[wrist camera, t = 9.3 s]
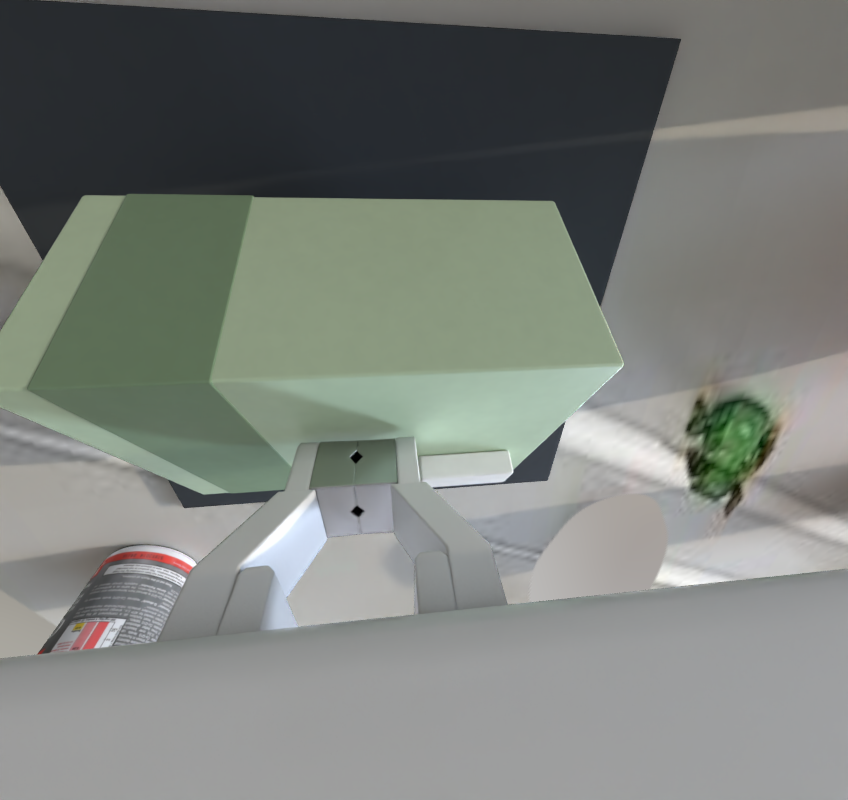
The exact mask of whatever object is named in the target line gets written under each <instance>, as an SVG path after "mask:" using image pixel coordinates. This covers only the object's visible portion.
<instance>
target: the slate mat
mask: <svg viewBox="0 0 848 800" xmlns="http://www.w3.org/2000/svg"><path fill="white" fill-rule="evenodd" d="M680 41H681V39H675V38H658V37H641V36H625V35H608V34H591V33H575V32H558V31H541V30H525V29H508V28H491V27H474V26H458V25H441V24H424V23H408V22H391V21H374V20H358V19H341V18H324V17H308V16H291V15H274V14H257V13H241V12H224V11H207V10H191V9H174V8H157V7H141V6H124V5H107V4H91V3H74V2H57V1H40V0H0V186H1V188H2V190H3V191H4V193H5V195H6V197H7V198H8V200H9V202H10V204H11V205H12V207H13V209H14V211H15V212H16V214H17V216H18V218H19V219H20V221H21V223H22V225H23V226H24V228H25V230H26V232H27V233H28V235H29V237H30V239H31V240H32V242H33V244H34V246H35V247H36V249H37V251H38V253H39V254H40V256H41V258H42V260H44V258H45V257H46V255H47V253H48V252H49V250H50V249H51V247H52V245H53V244H54V242H55V240H56V239H57V237H58V236H59V234H60V232H61V231H62V229H63V227H64V226H65V224H66V222H67V221H68V219H69V218H70V216H71V214H72V213H73V211H74V209H75V208H76V206H77V204H78V203H79V201H80V200H81V198H82V197H83V196H85V195H110V196H126V195H127V194H183V195H252V196H254V197H273V198H355V199H436V200H518V201H553V202H555V204H556V207H557V209H558V211H559V214H560V216H561V218H562V220H563V223H564V225H565V227H566V230H567V232H568V234H569V237H570V239H571V241H572V244H573V246H574V248H575V251H576V253H577V255H578V258H579V260H580V262H581V264H582V267H583V269H584V271H585V274H586V276H587V278H588V281H589V283H590V285H591V288H592V290H593V292H594V295H595V297H596V299H597V301H598V304H599V306H601V302H602V299H603V296H604V292H605V289H606V286H607V282H608V279H609V276H610V272H611V269H612V266H613V263H614V259H615V256H616V253H617V249H618V246H619V243H620V239H621V236H622V233H623V230H624V226H625V223H626V220H627V216H628V213H629V210H630V206H631V203H632V200H633V197H634V193H635V190H636V187H637V183H638V180H639V177H640V173H641V170H642V167H643V163H644V160H645V157H646V154H647V150H648V147H649V144H650V140H651V137H652V134H653V130H654V127H655V124H656V121H657V117H658V114H659V111H660V107H661V104H662V101H663V97H664V94H665V91H666V87H667V84H668V81H669V78H670V74H671V71H672V68H673V64H674V61H675V58H676V54H677V51H678V48H679V45H680ZM564 424H565V422H564V423H563V424H561V425H560V426H559V427H558V428H557V429H556V430H555V431H554V432H553V433H552V434H551V435H550V436H549V437H548V438H547V439H545V440H544V441H543V442H542V443H541V444H540V445H539V446H538V447H537V448H536V449H535V450H534V451H533V452H532V453H531V454H529V455H528V456H527V457H526V458H525V459H524V460H523V461H522V462H521V463H520V464H519V465H518V466H517V467H516V468H515V469H514V470H513V474H511V475H510V476H509V477H508V478H507V479H506V480H505V481H504V482H497V483H484V484H471V485H457V486H444V487H432V488H433V489H443V488H456V487H469V486H482V485H496V484H509V483H522V482H535V481H547V480H548V477H549V474H550V471H551V467H552V464H553V461H554V458H555V454H556V451H557V448H558V444H559V441H560V438H561V434H562V431H563V428H564ZM169 482H170V484H171V486H172V487H173V489H174V491H175V493H176V494H177V496H178V498H179V500H180V501H181V503H182V505H183V507H184V508H191V507H204V506H218V505H231V504H244V503H257V502H267V501H269V500H270V499H271V498H272V497H273V496H274V495H275V494H276V493H277V492H283V491H285V490H272V491H259V492H245V493H219V494H205V495H204V494H201V493H199V492H196V491H194V490H192V489H189V488H187V487H185V486H182V485H180V484H178V483H175V482H173V481H171V480H169Z"/></svg>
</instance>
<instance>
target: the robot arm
mask: <svg viewBox="0 0 848 800" xmlns="http://www.w3.org/2000/svg"><path fill="white" fill-rule="evenodd" d="M395 444H396V445H395ZM391 532H394V534H395V536H396V537H397V539H398V540H399V542H400V543H401V545H402V546H403V548H404V549H405V551H406V552H407V554H408V555H409V557H410V558H411V560H412V561H413V562H414V564H415V575H414V615H405V616H396V617H386V618H376V619H367V620H357V621H348V622H339V623H329V624H320V625H310V626H301V627H298V625H297V622H296V620H295V618H294V615H293V613H292V611H291V609H290V606H289V604H288V602H287V599H286V598H287V596H288V595H289V594H290V592H291V591H292V589H293V588H294V586H295V585H296V584H297V582H298V581H299V579H300V578H301V577H302V575H303V574H304V572H305V571H306V569H307V568H308V567H309V565H310V564H311V562H312V561H313V560H314V558H315V557H316V555H317V554H318V552H319V551H320V550H321V548H322V547H323V545H324V544H325V543H326V541H327V538H330V537H339V536H348V535H357V534H372V533H391ZM0 800H848V569H840V570H831V571H821V572H812V573H802V574H793V575H783V576H774V577H765V578H755V579H746V580H736V581H727V582H717V583H708V584H699V585H689V586H680V587H670V588H661V589H651V590H642V591H633V592H623V593H614V594H606V595H605V594H604V595H595V596H586V597H576V598H567V599H558V600H548V601H539V602H529V603H520V604H510V605H508V604H507V601H506V597H505V594H504V590H503V587H502V583H501V580H500V576H499V573H498V569H497V566H496V562H495V559H494V555H493V552H492V548H491V545H490V544H489V543H488V542H487V541H486V540H485V539H484V538H483V537H482V536H481V535H480V534H479V533H478V532H477V531H476V530H475V529H474V528H473V527H472V526H471V525H470V524H469V523H468V522H467V521H466V520H465V519H464V518H463V517H462V516H461V515H460V514H459V513H458V512H457V511H456V510H455V509H454V508H453V507H451V506H450V505H449V504H448V503H447V502H446V501H445V500H444V499H443V498H442V497H441V496H440V495H439V494H438V493H437V492H436V491H435V490H434V489H433V488H432V487H431V486H430V485H429V484H428V483H427V482H420V474H419V466H418V458H417V450H416V442H415V438H414V436H412V437H399V438H396V440H395V438H389V439H373V440H359V441H358V440H357V441H327V442H308V443H300V445H299V446H298V447H297V451H296V454H295V457H294V461H293V464H292V467H291V471H290V474H289V477H288V481H287V484H286V488H285V491H283V492H277V493H276V494H275V495H274V496H273V497H272V498H271V499H270V500H269V501H267V502H266V503H265V504H264V505H263V506H262V507H261V508H260V509H258V510H257V511H256V512H255V513H254V514H253V515H252V516H251V517H249V518H248V519H247V520H246V521H245V522H244V523H243V524H242V525H240V526H239V527H238V528H237V529H236V530H235V531H234V532H233V533H231V534H230V535H229V536H228V537H227V538H226V539H225V540H224V541H223V542H221V543H220V544H219V545H218V546H217V547H216V548H215V549H214V550H212V551H211V552H210V553H209V554H208V555H207V556H206V557H205V558H203V559H202V560H201V561H200V562H199V563H198V564H197V565H196V566H194V567H193V568H192V569H191V570H190V572H189V574H188V576H187V578H186V580H185V582H184V585H183V587H182V589H181V591H180V593H179V595H178V597H177V599H176V601H175V603H174V606H173V608H172V610H171V612H170V614H169V616H168V618H167V620H166V622H165V625H164V627H163V629H162V631H161V633H160V635H159V637H158V639H157V641H156V642H150V643H141V644H131V645H122V646H112V647H103V648H93V649H84V650H74V651H65V652H56V653H46V654H37V655H27V656H18V657H9V658H0Z"/></svg>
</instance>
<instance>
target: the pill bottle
mask: <svg viewBox="0 0 848 800" xmlns="http://www.w3.org/2000/svg"><path fill="white" fill-rule="evenodd" d="M196 565H197V564H196V562H195V561H194V560H193V559H191V558H190V557H188V556H187V555H185V554H183V553H181V552H179V551H176V550H173V549H170V548H166V547H161V546H153V545H138V546H131V547H126V548H123V549H120V550H118V551H116V552H114V553H112V554H111V555H110V556H108V557H107V558H106V559H105V560H104V562H103V563H102V564H101V565H100V567H99V568H98V570H97V571H96V572H95V574H94V575H93V576H92V578H91V579H90V581H89V582H88V584H87V585H86V587H85V588H84V589H83V591H82V592H81V594H80V595H79V596H78V598H77V599H76V601H75V602H74V604H73V605H72V606H71V608H70V609H69V611H68V612H67V613H66V615H65V616H64V617H63V619H62V620H61V622H60V623H59V625H58V626H57V627H56V629H55V630H54V631H53V633H52V634H51V636H50V637H49V639H48V640H47V642H46V643H45V644H44V646H43V647H42V649H41V650H40V651H39V653H38V654H46V653H56V652H65V651H74V650H84V649H93V648H103V647H112V646H122V645H131V644H141V643H150V642H156V641H157V639H158V637H159V635H160V633H161V631H162V629H163V627H164V625H165V622H166V620H167V618H168V616H169V614H170V612H171V610H172V608H173V606H174V603H175V601H176V599H177V597H178V595H179V593H180V591H181V589H182V587H183V585H184V582H185V580H186V578H187V576H188V574H189V572H190V570H191V569H192V568H193V567H194V566H196Z"/></svg>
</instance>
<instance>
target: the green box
mask: <svg viewBox="0 0 848 800" xmlns="http://www.w3.org/2000/svg"><path fill="white" fill-rule="evenodd" d="M623 366H624V362H623V359H622V357H621V355H620V352H619V350H618V348H617V345H616V343H615V341H614V339H613V336H612V334H611V332H610V329H609V327H608V325H607V322H606V320H605V318H604V315H603V313H602V311H601V308H600V306H599V304H598V301H597V299H596V297H595V295H594V292H593V290H592V288H591V285H590V283H589V281H588V278H587V276H586V274H585V271H584V269H583V267H582V264H581V262H580V260H579V258H578V255H577V253H576V251H575V248H574V246H573V244H572V241H571V239H570V237H569V234H568V232H567V230H566V227H565V225H564V223H563V220H562V218H561V216H560V214H559V211H558V209H557V207H556V204H555V202H553V201H518V200H436V199H355V198H273V197H254V196H252V195H183V194H127V195H126V196H110V195H85V196H83V197H82V198H81V200H80V201H79V203H78V204H77V206H76V208H75V209H74V211H73V213H72V214H71V216H70V218H69V219H68V221H67V222H66V224H65V226H64V227H63V229H62V231H61V232H60V234H59V236H58V237H57V239H56V240H55V242H54V244H53V245H52V247H51V249H50V250H49V252H48V253H47V255H46V257H45V258H44V260H43V262H42V263H41V265H40V267H39V268H38V270H37V271H36V273H35V275H34V276H33V278H32V280H31V281H30V283H29V285H28V286H27V288H26V289H25V291H24V293H23V294H22V296H21V298H20V299H19V301H18V302H17V304H16V306H15V307H14V309H13V311H12V312H11V314H10V316H9V317H8V319H7V320H6V322H5V324H4V325H3V327H2V329H1V330H0V408H3V409H5V410H7V411H10V412H12V413H14V414H17V415H19V416H21V417H24V418H26V419H28V420H31V421H33V422H35V423H38V424H40V425H42V426H45V427H47V428H49V429H52V430H54V431H56V432H59V433H61V434H63V435H66V436H68V437H70V438H73V439H75V440H77V441H80V442H82V443H84V444H87V445H89V446H91V447H94V448H96V449H98V450H101V451H103V452H105V453H108V454H110V455H112V456H115V457H117V458H119V459H122V460H124V461H126V462H129V463H131V464H133V465H136V466H138V467H140V468H143V469H145V470H147V471H150V472H152V473H154V474H157V475H159V476H161V477H164V478H166V479H168V480H171V481H173V482H175V483H178V484H180V485H182V486H185V487H187V488H189V489H192V490H194V491H196V492H199V493H201V494H204V495H205V494H219V493H245V492H259V491H272V490H285V488H286V484H287V481H288V477H289V474H290V471H291V467H292V464H293V461H294V457H295V454H296V451H297V447H298V446H299V445H300V443H308V442H327V441H357V440H358V441H359V440H373V439H389V438H395V440H396V438H399V437H412V436H414V438H415V442H416V450H417V458H418V466H419V474H420V482H427V483H428V484H429V485H430V486H431V487H444V486H457V485H471V484H484V483H497V482H504V481H505V480H506V479H507V478H508V477H509V476H510V475H511V474H513V470H514V469H515V468H516V467H517V466H518V465H519V464H520V463H521V462H522V461H523V460H524V459H525V458H526V457H527V456H528V455H529V454H531V453H532V452H533V451H534V450H535V449H536V448H537V447H538V446H539V445H540V444H541V443H542V442H543V441H544V440H545V439H547V438H548V437H549V436H550V435H551V434H552V433H553V432H554V431H555V430H556V429H557V428H558V427H559V426H560V425H561V424H563V423H564V422H565V421H566V420H567V419H568V418H569V417H570V416H571V415H572V414H573V413H574V412H575V411H576V410H577V409H578V408H580V407H581V406H582V405H583V404H584V403H585V402H586V401H587V400H588V399H589V398H590V397H591V396H592V395H593V394H594V393H596V392H597V391H598V390H599V389H600V388H601V387H602V386H603V385H604V384H605V383H606V382H607V381H608V380H609V379H610V378H612V377H613V376H614V375H615V374H616V373H617V372H618V371H619V370H620V369H621V368H622V367H623ZM395 445H396V444H395Z"/></svg>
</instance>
